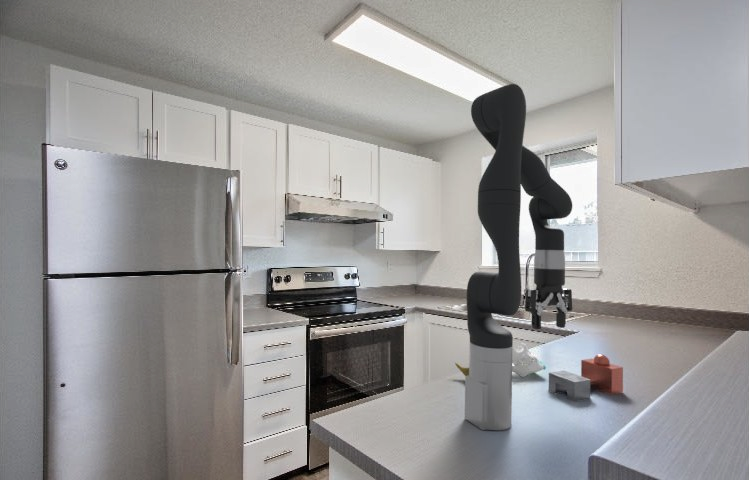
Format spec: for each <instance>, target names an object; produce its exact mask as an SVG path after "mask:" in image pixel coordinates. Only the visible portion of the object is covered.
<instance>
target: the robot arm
mask: <svg viewBox="0 0 749 480" xmlns="http://www.w3.org/2000/svg"><path fill="white" fill-rule="evenodd" d="M470 115H471V118H472V119H471V120H472V122H473V124H474V127H476V129H477V130H478V132H479V133H480V135H482V136H483V138H484V139H485V140H486V141H487V143H489V144H490V146H491V147H492V148H493V149H494V151H495V152H494V154H493V155H492V158H491V160H490V162H489V163H488V164H487V167H486V168H485V170H484V172H483V174H482V177H481V178H480V181H479V183H478V190H477V216H478V218H479V221H480V223H481V224H482V227H483V229H484V230H485V233H487V236H488V237H489V239H490V241H491V242H492V244H493V247H494V249H495V252H496V256H497V265H498V271H497V272H496V271H495V272H494V271H476V272H474V273H472V274H471V276H470V277H469V279H468V281H467V285H466V315H467V316H466V318H467V321H466V323H467V330H468V331H467V332H468V334H469V359H468V361H469V363H468V368H469V376H464V377H465V378H464V379H465V380H464V382H465V383H464V385H465V386H464V419H465V420H466V421H468V422H470V423H471V424H473V425H474V426H476V427H477V428H479V429H480V430H481V431H482V430H483V431H484V430H489V431H503V430H504V431H505V430H508V429H510V428H511V427H512V417H513V416H512V415H513V413H512V412H513V411H512V410H513V408H512V406H513V404H512V403H513V402H512V401H513V397H512V396H513V371H512V370H513V369H512V366H513V363H512V349H513V348H514V347H513V346H514V345H513V344H514V343H513V341H514V339H513V333H512V332H511V331H510V330H508V329H507V328H506V327H504V326H502V325H500V324H499V323H498V322H497V321H496V320H495V319H494V317H493V315H501V316H507V317H509V316H510V317H511V316H514V315H515V314H516V313H517V312H519V308H520V306H521V300H522V275H521V271H522V270H521V260H520V259H521V258H520V221H521V218H520V217H521V203H522V202H521V201H522V199H521V198H522V195H521V193H522V189H523V191H524V192H525V193H526V195H528V196H529V197H531V199H530V201H529V203H528V213H529V216H530V220H531V222H532V226H533V230H534V231H533V232H534V238H535V239H534V240H535V241H534V242H535V245H534V247H535V248H534V251H535V252H534V256H533V257H534V259H533V265H534V266H533V283H534V285H535V287H536V288H535V289H533V288H526V290H525V303H524V310H525V312H527V313H530V315H531V326H532V329H534V330H541V328H542V315H541V314H542V312H543V310H544V309H546V308H547V307H548V306H552V307H554V309H555V310H556V317H555V319H556V322H555V324H556V327H557V328H560V329H561V328H562V329H564V328H565V327H566V324H567V323H566V319H567V317H566V316H567V313H568V312H572V310H573V294H572V293H573V292H572V289H570V288H563V287H564V286H565V284H566V256H565V232H564V230H563V229H561V228H557V227H551V226H550V225H549V223H548V220H562V219H565V218H567V217H569V215H571V213H572V210H573V201H572V198H571V197H570V195H569V193H568V192H567V191H566V190H565V189H564V188H563V187H562V186H561V185H560V184H559V183H558V182H556V181H555V179H553V178H552V176H551V175H550V173H549V171H548V169H547V168H546V166H545V164H544V162H543V160H542V159H541V158H540V157H539V156H538V154H536V153H535V152H534V151H532V150H531V149H529V148H528V147H526V146H524V145H523V143H524V135H525V127H526V118H527V117H526V116H527V101H526V96H525V92H524V91H523V88H522V87H521V86H520V85H518V84H515V83H510V84H506V85H503V86H500V87H498V88H495V89H493V90H490V91H488V92H485V93H483V94H481V95H478V96H477V97H476V98H475V99H474V100H473V101H472V103H471V107H470ZM521 187H522V188H521ZM492 314H493V315H492Z"/></svg>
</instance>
